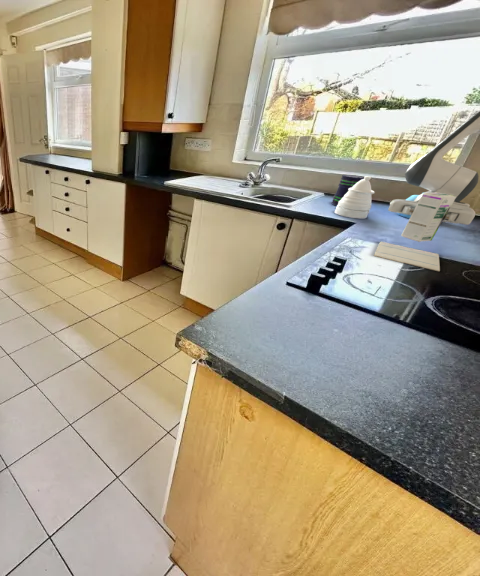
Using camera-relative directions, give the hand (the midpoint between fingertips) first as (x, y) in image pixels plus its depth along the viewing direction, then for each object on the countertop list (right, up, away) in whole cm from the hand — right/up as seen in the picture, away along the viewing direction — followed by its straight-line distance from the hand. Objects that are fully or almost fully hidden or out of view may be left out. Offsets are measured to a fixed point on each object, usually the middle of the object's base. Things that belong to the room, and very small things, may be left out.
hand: (428, 215), depth 99 cm
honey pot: (+19, +12, +54) cm, 58 cm away
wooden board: (0, -12, +7) cm, 14 cm away
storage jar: (+29, +22, +73) cm, 82 cm away
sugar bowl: (+52, +12, +56) cm, 77 cm away
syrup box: (0, -7, +5) cm, 8 cm away
